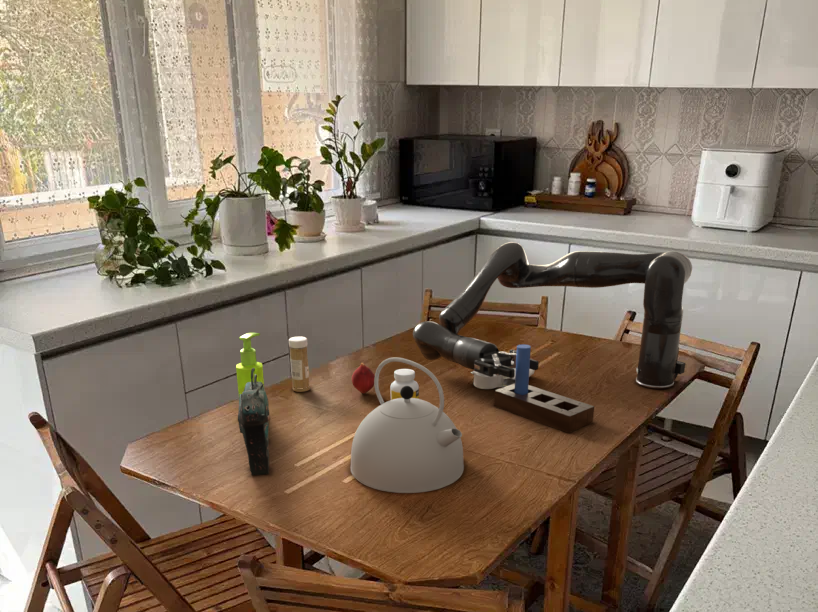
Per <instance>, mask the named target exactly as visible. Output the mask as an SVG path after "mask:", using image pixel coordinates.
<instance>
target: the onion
mask: <svg viewBox="0 0 818 612" xmlns="http://www.w3.org/2000/svg"><path fill="white" fill-rule="evenodd" d="M374 380H375V373H374V372H373V370H372V369H371V368H369V366H367V365H366V364H365V363H364V362H361V363H360V365H359V366H358V367H357V368H356V369H354V371H353V373H352V375H351V383H352V386H353V387H354V388H355V389H356V390H357V391H358V392H360V393H361V394H362V395H364V394H366V393H368V392H369V391H371V390H372V389H373V388H374V387H375V385H374Z"/></svg>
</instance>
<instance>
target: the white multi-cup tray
mask: <svg viewBox="0 0 818 612" xmlns="http://www.w3.org/2000/svg"><path fill="white" fill-rule="evenodd" d="M513 364H514V361H511V365H513ZM513 369H514V370H515V372H516V368H513ZM535 372H536V370H532V369H529V378H530V377H532V376H533V375H534V374H535ZM470 374H472V375H473V386H474V387H475V388H477V389H481V390H495V389H498V388H503V387H506V386H509V385H512V384H515V376H514V378H509V377H505V376H502V375H499V376H497V375H495V374H493V376H492V377H490V376H487V375H484V374H481V373H479V372H476V371H474V370H472V371H470Z"/></svg>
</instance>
